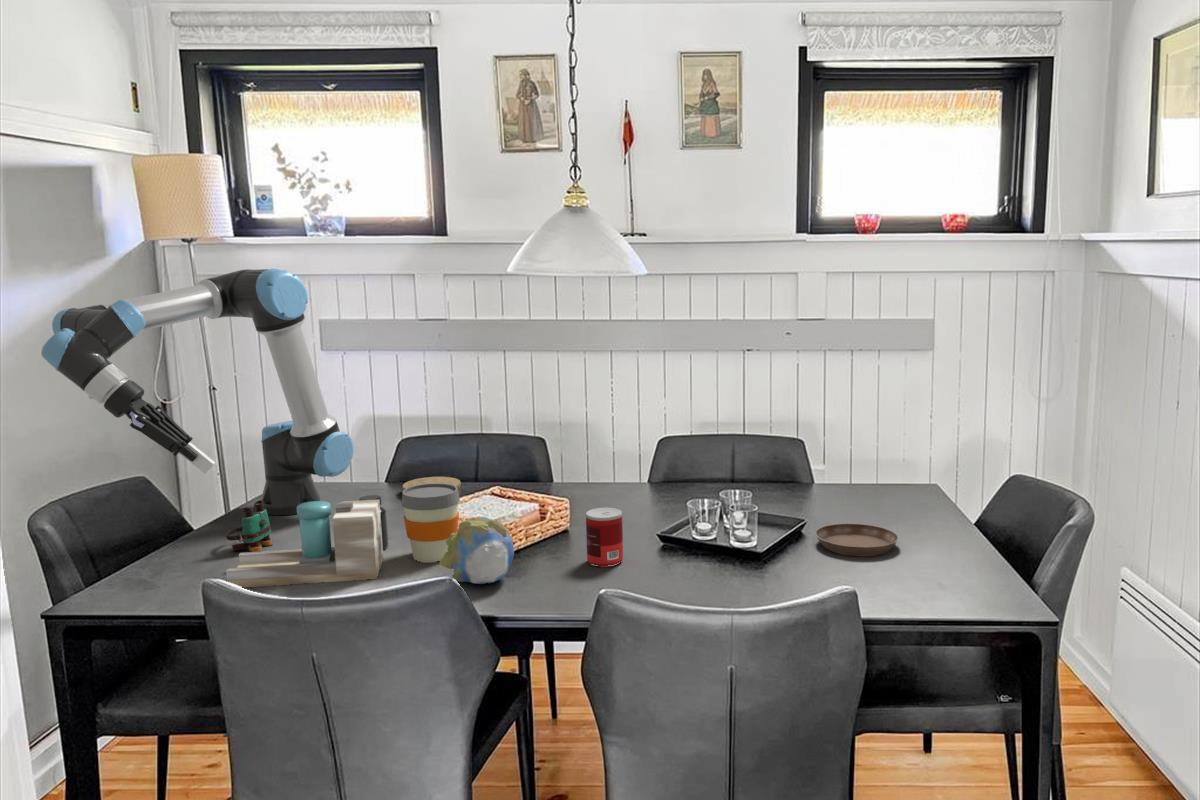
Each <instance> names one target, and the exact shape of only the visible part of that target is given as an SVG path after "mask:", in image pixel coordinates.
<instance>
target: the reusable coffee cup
mask: <svg viewBox="0 0 1200 800" xmlns="http://www.w3.org/2000/svg"><path fill="white" fill-rule="evenodd" d="M459 503H460V494H459V493H458V488H457V487H456V486H454V485H451V484H443V483H431V484H421V485H416V486H412V487H409V488H406V489H405V490H403V489H402V494H401V506H402V507H403V511H404V515H403V520H404V525H405V530H406V531H405V532H406V537H407V538H408V539H409V543H410V547H411V551H412V552H411V553H412V557H413V559H414V561H416V560H417V562H419V561H420V562H419V563H438V562H437V561H440V558H442V557H443V556H444V554H445V552H448V549H447V548H448V547H449V546H447V543H446V540H447V539H448V538H449V537H450V535H451V533H456V532H457V530H458V528H459V519H460V518H459V517H460V512H459V511H458V506H459Z"/></svg>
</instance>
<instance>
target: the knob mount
mask: <svg viewBox="0 0 1200 800" xmlns="http://www.w3.org/2000/svg"><path fill="white" fill-rule="evenodd" d="M335 506H336V507H335V513H334V515H333V516H332V527H333V528H332V529H333V543H334V548H335V559H334V561H333V562H325V563H309V564H300V563H299V560H300V558H301V556H302V548H298V549H284V550H266V551H265V550H261V551H259V552H251V551H249V552H247V551H246V552H239V554H238V562H239V564H238V565H237V567H229V568H227V569H226V571H225V573H226V581H228V582H231V583H234V584H237V585H239V586H242V587H244V588H256V587H257V588H258V587H274V585H276V586H291V585H290V584H292V585H304V584H303V583H308V584H319V582H320V583H321V582H324V583H335V582H338V583H339V582H350V581H351V582H354V581H355V580H356V581H368V580H367V579H371V580H378V577H377V576H379V574H378V573H380V571H379V570H381V567H382V563H383V561H384V550H383V545H382V530H381V515H380V499H379V500H361V501H359V500H347V501H346V500H344V501H341V502H338V503H337V504H336V505H335ZM353 580H354V581H353ZM356 581H355V582H356Z"/></svg>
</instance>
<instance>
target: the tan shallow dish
mask: <svg viewBox="0 0 1200 800" xmlns="http://www.w3.org/2000/svg"><path fill="white" fill-rule="evenodd" d="M431 483H443V484H451V485H454V486H456V487H457V488H458V493H459V495H460V494H461V493H462V482H461V480H460V479H458V478H456V477H450V476H430V477H429V476H428V477H420V478H415V479H411V480H408V481H406V482H404V483H403V484H402V491H403V490H405V489H406V488H409V487H412V486H416V485H421V484H431Z"/></svg>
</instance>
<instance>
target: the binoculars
mask: <svg viewBox="0 0 1200 800" xmlns="http://www.w3.org/2000/svg"><path fill="white" fill-rule="evenodd" d="M253 505H254V507H243V508H242V510H243V512H244V514H245V516H243V517H242V518H241V525H242V526H240V527H236V528H234V529H231V530H229V531H227V533H225V537H226V540H227V541H239V543H236V544H231V547H232V548H231V549H232V551H239V550H244V549H245V550H247V549H248V551H249V552H262V551H263V547H262V546H266V547H267V546H271V545H273V539H272V538H271V537H270V535H271V534H272V525H271V524H270V519H269V514H267V511H266V509H263V505H264V502H263V500H261V499H260V500H257V501H255V502H254V503H253ZM254 508H255V511H254ZM236 533H237V535H234V534H236Z"/></svg>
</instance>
